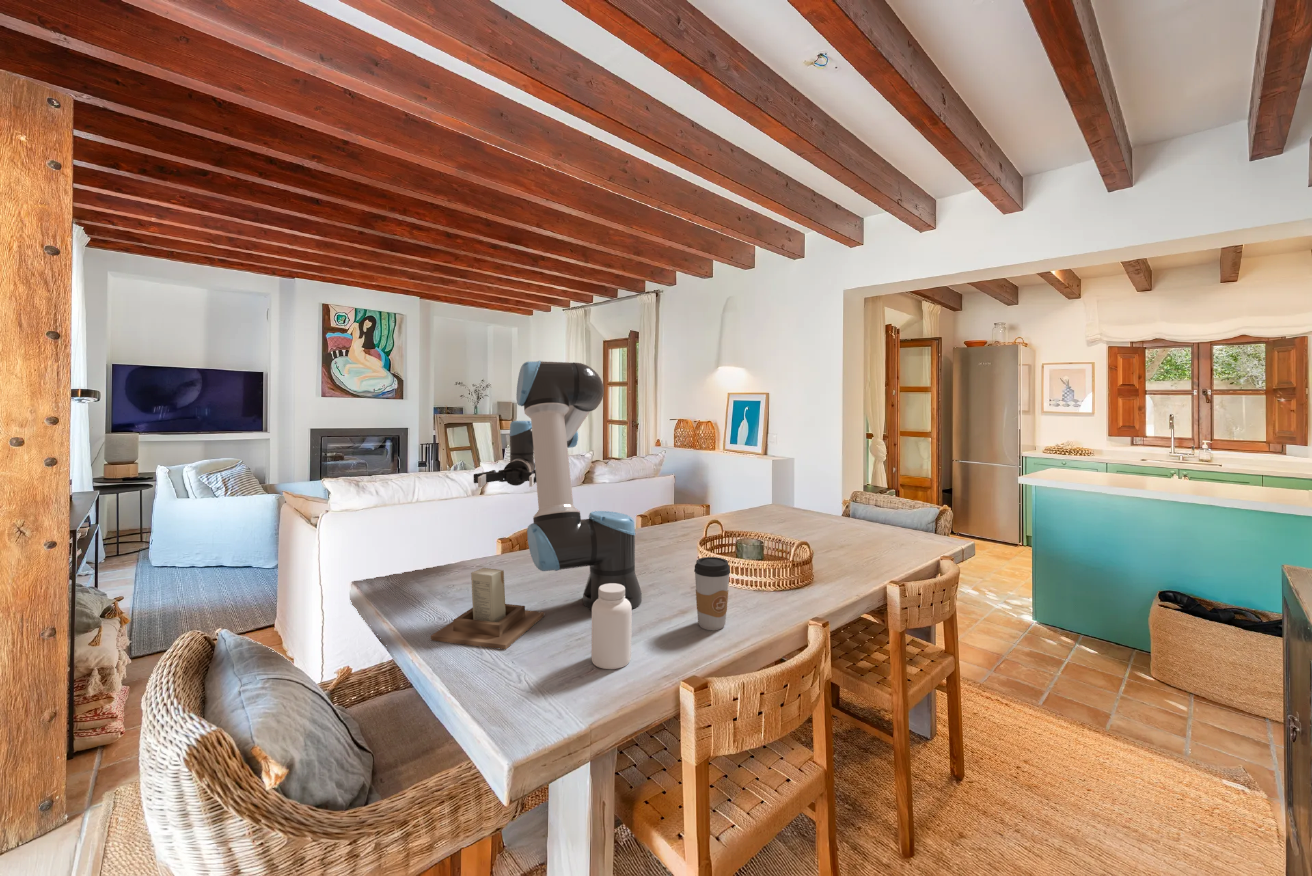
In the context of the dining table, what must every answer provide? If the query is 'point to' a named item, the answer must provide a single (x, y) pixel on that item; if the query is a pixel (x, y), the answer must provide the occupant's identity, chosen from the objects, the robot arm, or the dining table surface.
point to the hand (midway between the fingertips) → (505, 482)
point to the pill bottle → (611, 627)
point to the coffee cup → (712, 591)
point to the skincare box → (488, 595)
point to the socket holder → (489, 628)
